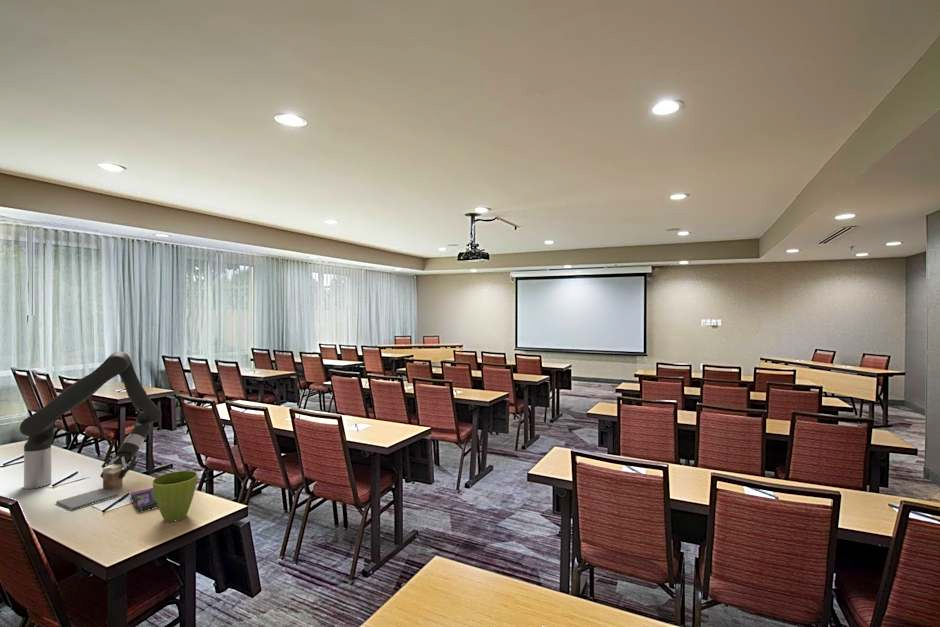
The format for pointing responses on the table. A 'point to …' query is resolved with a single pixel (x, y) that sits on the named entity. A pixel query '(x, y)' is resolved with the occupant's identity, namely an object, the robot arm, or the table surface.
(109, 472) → the block
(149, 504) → the box
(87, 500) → the mat
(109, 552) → the table surface
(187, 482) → the flower pot
